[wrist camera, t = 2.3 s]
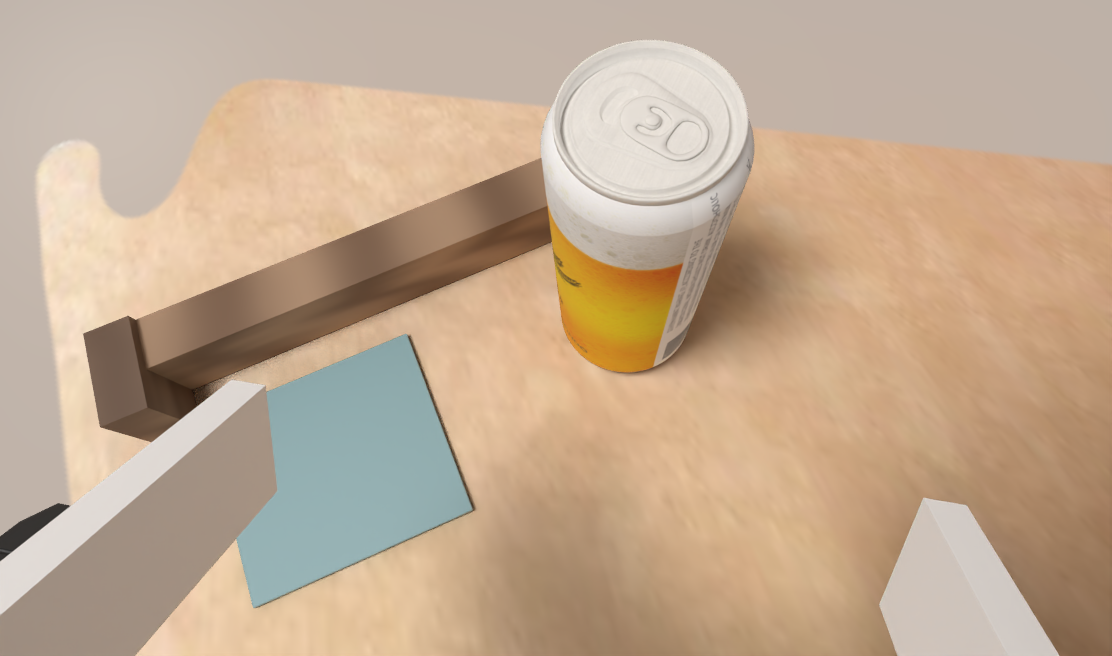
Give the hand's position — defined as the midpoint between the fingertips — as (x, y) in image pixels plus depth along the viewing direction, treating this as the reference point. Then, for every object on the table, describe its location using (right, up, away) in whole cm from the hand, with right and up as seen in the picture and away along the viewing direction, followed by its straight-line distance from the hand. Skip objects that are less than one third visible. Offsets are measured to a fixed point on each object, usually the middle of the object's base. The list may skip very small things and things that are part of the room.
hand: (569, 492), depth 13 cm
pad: (-10, -3, +17) cm, 20 cm away
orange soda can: (+3, +4, +19) cm, 19 cm away
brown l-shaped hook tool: (-9, +5, +19) cm, 22 cm away
